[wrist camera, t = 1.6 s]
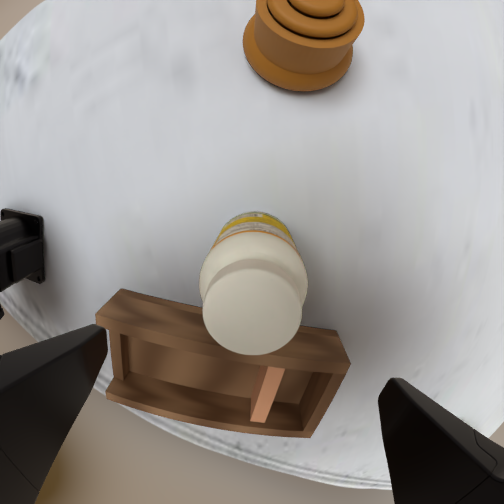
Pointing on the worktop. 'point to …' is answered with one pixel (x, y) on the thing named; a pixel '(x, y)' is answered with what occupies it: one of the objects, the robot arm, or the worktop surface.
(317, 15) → the ornamental finial
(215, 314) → the supplement bottle
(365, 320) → the worktop surface
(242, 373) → the pusher lane
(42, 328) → the worktop surface
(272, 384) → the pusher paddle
